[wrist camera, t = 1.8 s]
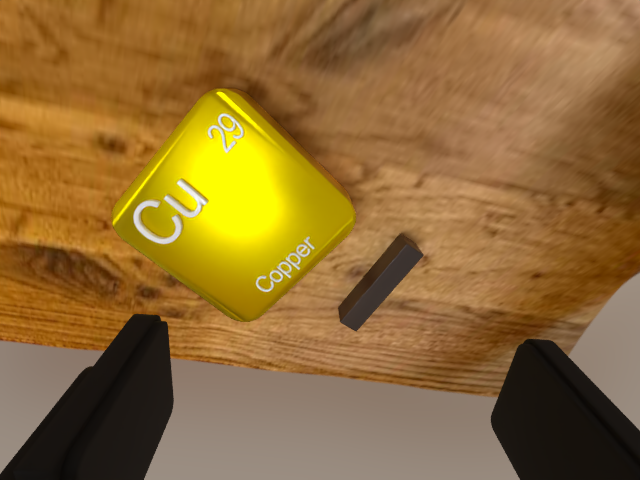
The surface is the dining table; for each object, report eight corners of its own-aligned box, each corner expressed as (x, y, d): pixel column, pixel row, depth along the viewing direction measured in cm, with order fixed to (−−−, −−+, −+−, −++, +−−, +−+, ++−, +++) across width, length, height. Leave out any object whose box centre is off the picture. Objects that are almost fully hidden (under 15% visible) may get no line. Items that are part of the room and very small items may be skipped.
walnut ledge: (337, 307, 37) (339, 322, 34) (400, 233, 34) (407, 243, 31) (353, 316, 37) (356, 331, 35) (416, 244, 34) (424, 255, 32)
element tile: (253, 305, 36) (245, 335, 32) (124, 207, 32) (94, 226, 28) (360, 203, 32) (368, 220, 28) (230, 76, 28) (216, 73, 24)
